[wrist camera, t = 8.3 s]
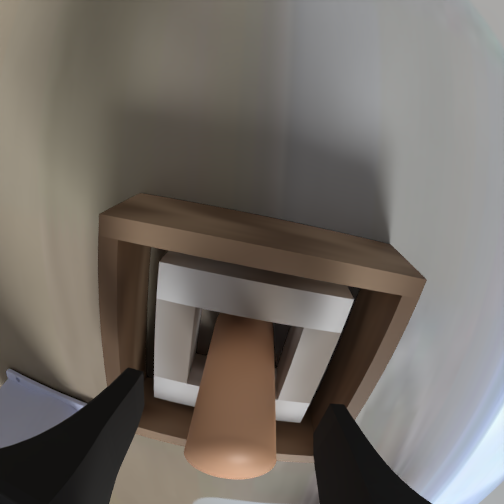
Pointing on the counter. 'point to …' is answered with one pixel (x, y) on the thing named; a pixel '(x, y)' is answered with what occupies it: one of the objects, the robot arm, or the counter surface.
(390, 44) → the counter surface
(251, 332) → the peg
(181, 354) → the peg box
